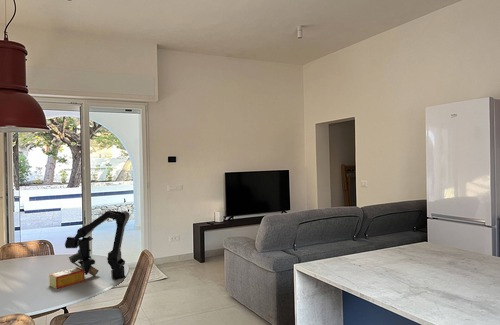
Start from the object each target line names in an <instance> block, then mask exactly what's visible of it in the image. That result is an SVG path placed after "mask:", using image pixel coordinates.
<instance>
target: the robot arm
mask: <svg viewBox="0 0 500 325" xmlns="http://www.w3.org/2000/svg"><path fill="white" fill-rule="evenodd" d="M130 216H131V215H130V213H129V212H128V211H126V210H123V211H117V210H111V209H109V210H107V211H105V212H104V213H103V214H101V215H100V216H99V217H97V218H95V219H94V220H93V221H91V222H90V223H88V224H86V225H84V226H82V227H80V228H78V229H77V231H76V234H75V236H67V237H66V239H65V243H64V248H66V249H77V248H79V249H78V250H77V252H76V253H74V254H72V255H70V256H68V260H69V262H70V263H71V264H73V263H76V262H77V264H78V265H79V264H80V266H81V265H82V266H83V267H84V276H85V275H86V276H87V275H88V274H89V273H88V272H89V269H90V267H91V266H93V265H96V260H95V259H94V258H92V256H91V251H92V250H91V248H90V247H91V246H90V241H92V240H94V238H93V237H91V236H90V234H91V233H92V232H93V231H94V230H95V229H96V228H97V227H98V226H100V225H101V224H103V223H104V222H106V221H108V219H111V220H114V221H115V223H116V231H115V234H114V235H115V236H114V240H113V245H112V250H110V251H109V252H108V253H107V258H106V260H107V264H108V265H109V266H110V269H111V270H110V274H111V278H112V279H113V280H119V279H125V278H126V274H125V266H124V265H125V264H126V261H125V259H123V258H122V251H121V250H122V249H121V248H122V244H123V240H124V239H123V238H124V233H125V228H126V226H127V224H128V223H129V222H128V221H129V219H130Z"/></svg>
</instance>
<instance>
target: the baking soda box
mask: <svg viewBox="0 0 500 325" xmlns="http://www.w3.org/2000/svg"><path fill="white" fill-rule="evenodd" d="M48 278H49V286H50V287H52V288H54V289H56V290H58V289H60V288H61V289H62V288H64V287H68V286H72V285H75V284H79V283H83V282H85V278H86V276H85V273H84V270H83V269H81V268H80V267H78V266H76V267H73V268H68V269H64V270H60V271H55V272H51V273H49V276H48Z"/></svg>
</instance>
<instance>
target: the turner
mask: <svg viewBox="0 0 500 325" xmlns="http://www.w3.org/2000/svg"><path fill="white" fill-rule="evenodd" d="M72 264H73V265H75V266H76V267H78V268H80V269H83V270H84V267H83V266H82V265H81V264H80V265H79V263H76V262H75V263H72ZM99 272H100V270H99V269H97V268H96V267H94V266H93V265H91V267H90V269H89V272H88V274H89V275H92V276H93V277H96V275H97V274H98V273H99Z"/></svg>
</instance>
